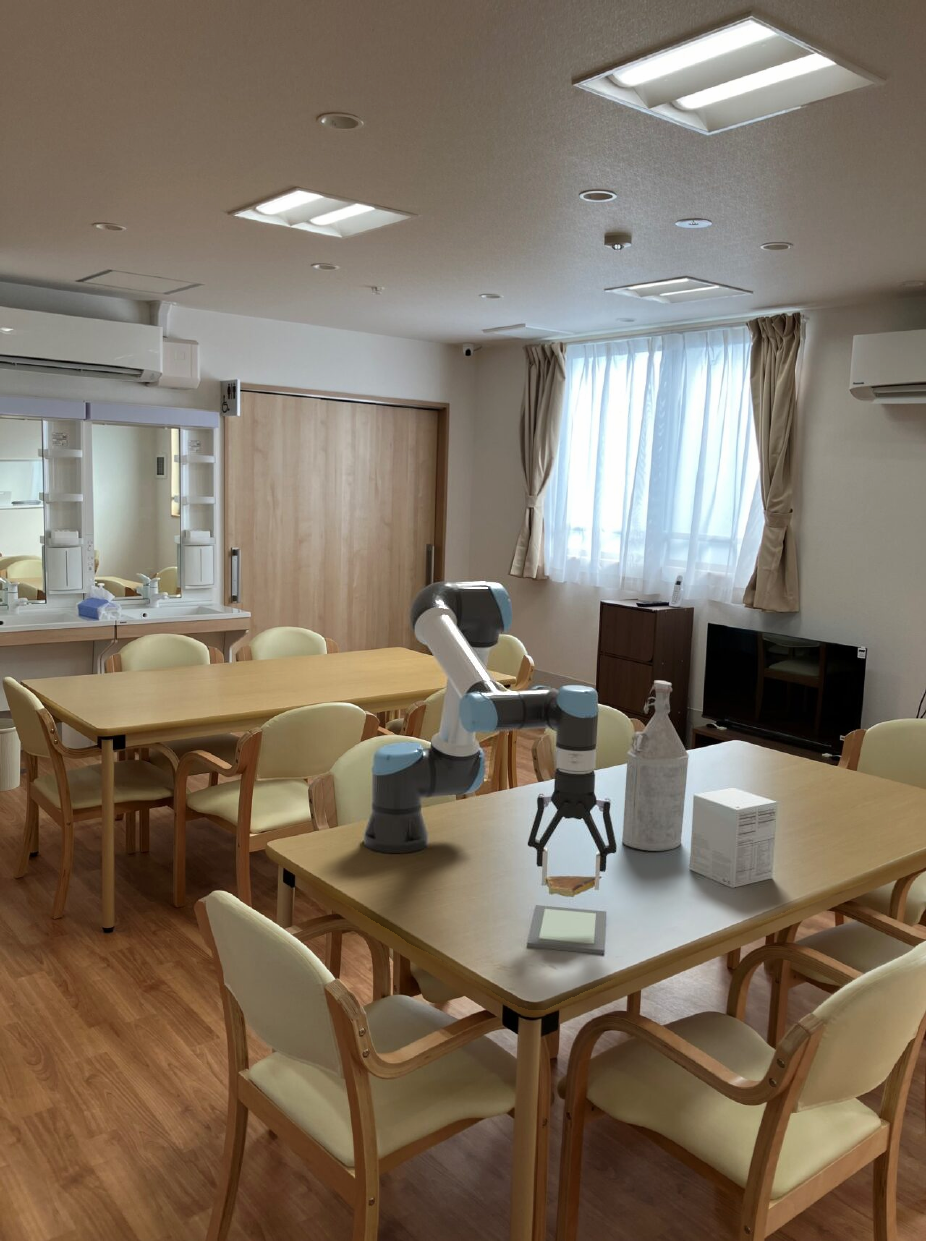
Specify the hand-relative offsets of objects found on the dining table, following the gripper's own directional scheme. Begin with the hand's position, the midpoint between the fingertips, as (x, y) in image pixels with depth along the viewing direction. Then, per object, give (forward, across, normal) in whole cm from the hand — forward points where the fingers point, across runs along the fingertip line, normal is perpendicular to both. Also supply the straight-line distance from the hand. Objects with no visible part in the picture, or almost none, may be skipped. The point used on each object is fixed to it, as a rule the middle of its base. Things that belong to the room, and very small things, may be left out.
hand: (570, 884), depth 191 cm
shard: (+1, 0, 0) cm, 1 cm away
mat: (+9, 0, 0) cm, 9 cm away
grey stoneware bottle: (+9, +17, +56) cm, 59 cm away
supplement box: (+9, +34, +39) cm, 53 cm away
